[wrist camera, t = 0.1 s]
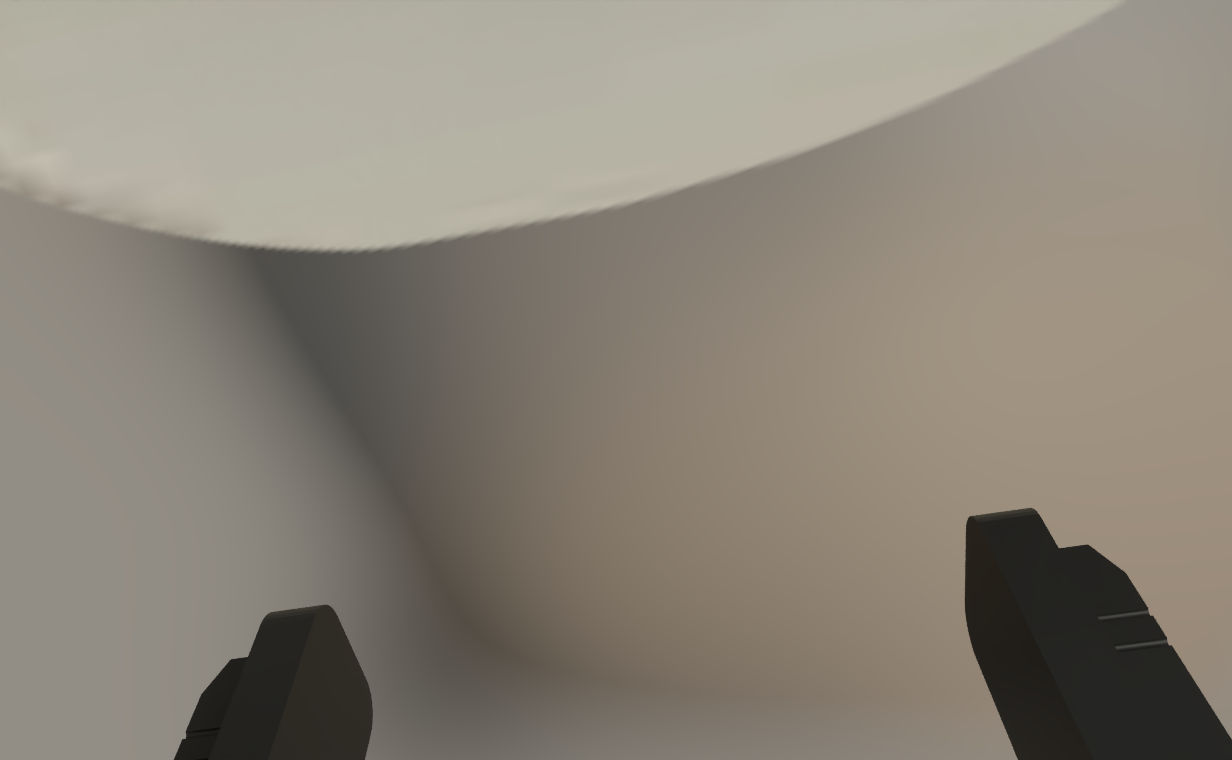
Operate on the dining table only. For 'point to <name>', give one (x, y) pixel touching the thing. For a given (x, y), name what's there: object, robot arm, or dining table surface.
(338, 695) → the robot arm
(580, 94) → the dining table surface
